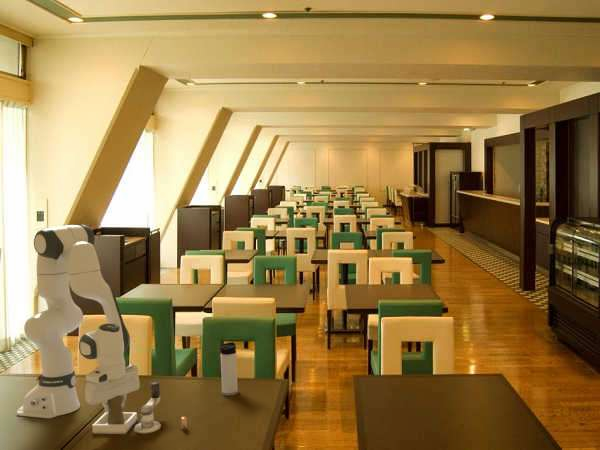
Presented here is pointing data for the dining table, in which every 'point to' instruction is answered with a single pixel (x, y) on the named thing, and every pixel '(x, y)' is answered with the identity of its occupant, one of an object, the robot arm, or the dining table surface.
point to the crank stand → (153, 424)
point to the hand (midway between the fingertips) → (114, 409)
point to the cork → (115, 411)
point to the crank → (152, 399)
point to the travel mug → (228, 369)
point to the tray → (105, 428)
